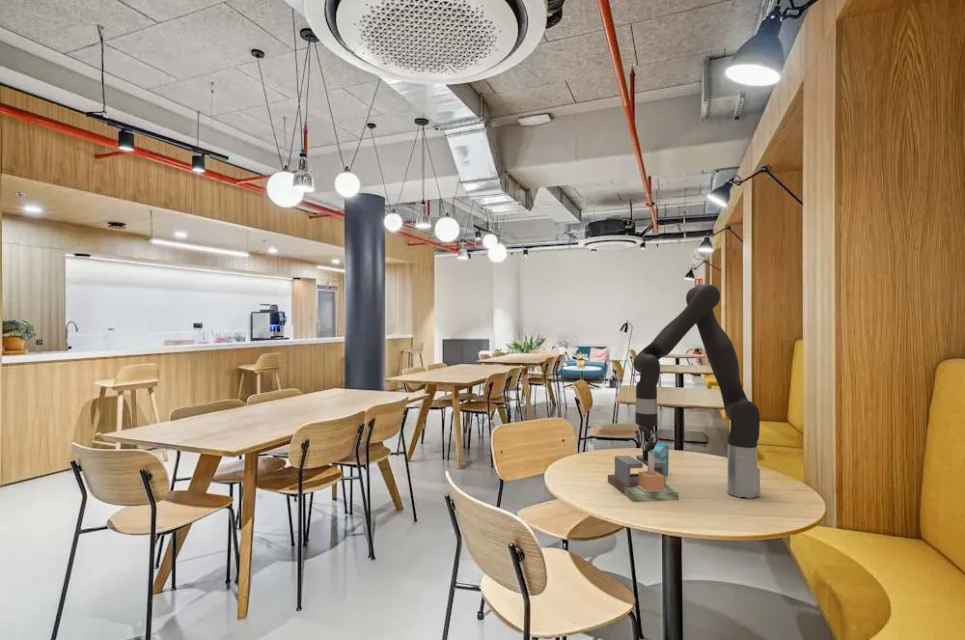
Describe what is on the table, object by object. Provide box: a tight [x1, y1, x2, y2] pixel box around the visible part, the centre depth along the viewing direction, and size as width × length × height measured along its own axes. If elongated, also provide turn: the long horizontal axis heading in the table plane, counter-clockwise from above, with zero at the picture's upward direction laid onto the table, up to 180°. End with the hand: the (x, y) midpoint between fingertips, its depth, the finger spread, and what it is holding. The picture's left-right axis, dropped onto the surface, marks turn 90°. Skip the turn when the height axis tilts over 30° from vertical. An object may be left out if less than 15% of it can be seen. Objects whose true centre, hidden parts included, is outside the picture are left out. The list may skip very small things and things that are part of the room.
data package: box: [650, 442, 670, 478], centre depth 195 cm, size 12×4×12 cm, turn 146°
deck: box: [607, 473, 680, 503], centre depth 179 cm, size 16×22×2 cm
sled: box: [636, 451, 667, 493], centre depth 172 cm, size 8×6×13 cm
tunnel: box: [614, 454, 666, 487], centre depth 181 cm, size 14×11×8 cm
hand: (646, 460), depth 176 cm, fingers closed
